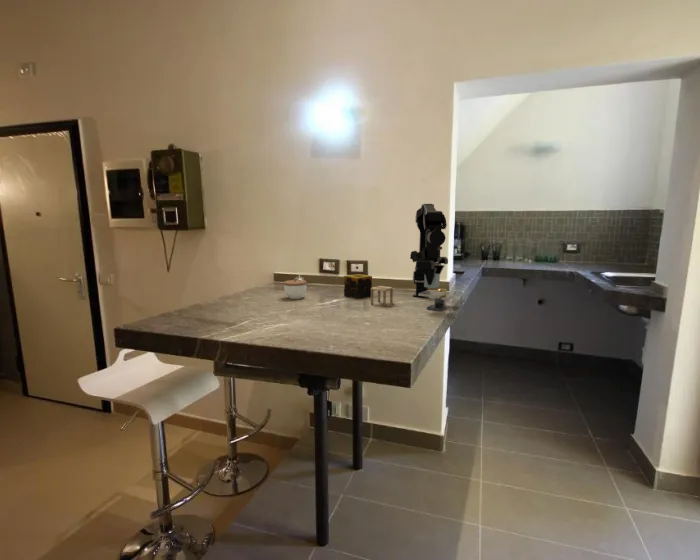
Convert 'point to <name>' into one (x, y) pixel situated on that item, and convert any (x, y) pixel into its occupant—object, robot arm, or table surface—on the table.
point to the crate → (384, 289)
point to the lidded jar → (295, 288)
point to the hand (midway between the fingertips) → (431, 284)
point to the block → (434, 283)
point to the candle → (357, 286)
